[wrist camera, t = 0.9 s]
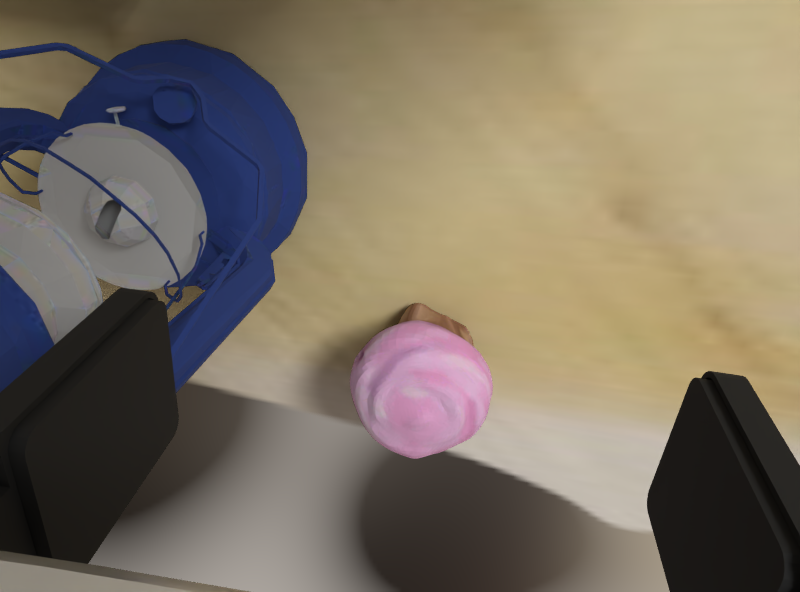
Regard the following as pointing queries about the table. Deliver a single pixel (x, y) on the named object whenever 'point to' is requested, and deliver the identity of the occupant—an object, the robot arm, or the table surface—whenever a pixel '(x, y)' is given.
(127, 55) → the lantern
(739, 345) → the table surface
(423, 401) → the cupcake
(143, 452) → the robot arm
